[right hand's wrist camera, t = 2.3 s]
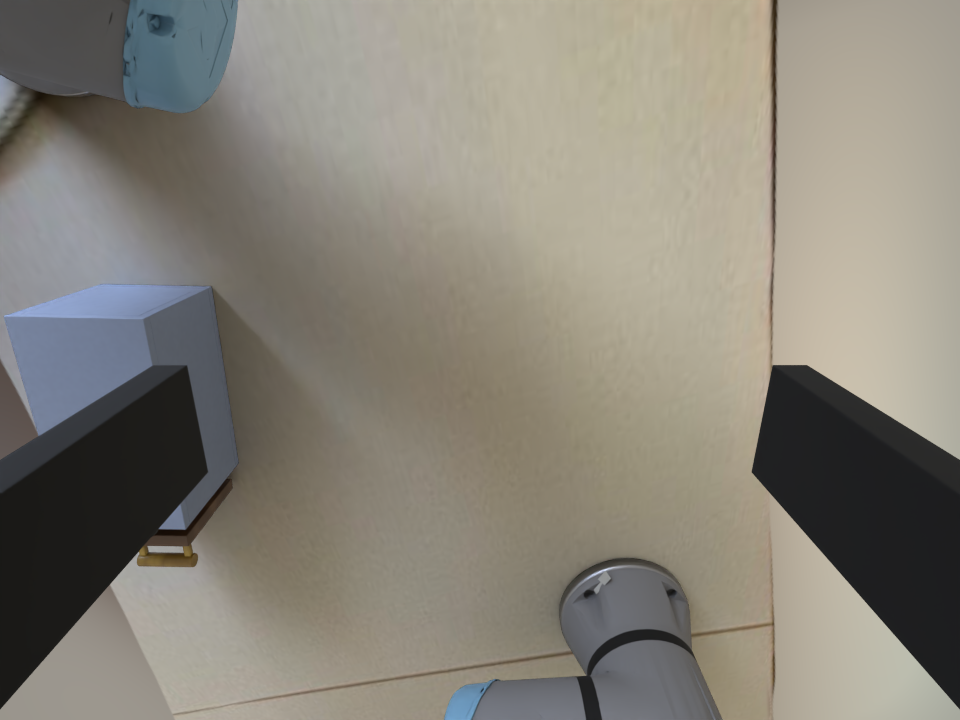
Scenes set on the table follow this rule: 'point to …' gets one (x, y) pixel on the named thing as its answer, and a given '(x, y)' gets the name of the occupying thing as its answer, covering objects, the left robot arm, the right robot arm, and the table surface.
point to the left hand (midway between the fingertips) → (72, 443)
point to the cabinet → (128, 362)
